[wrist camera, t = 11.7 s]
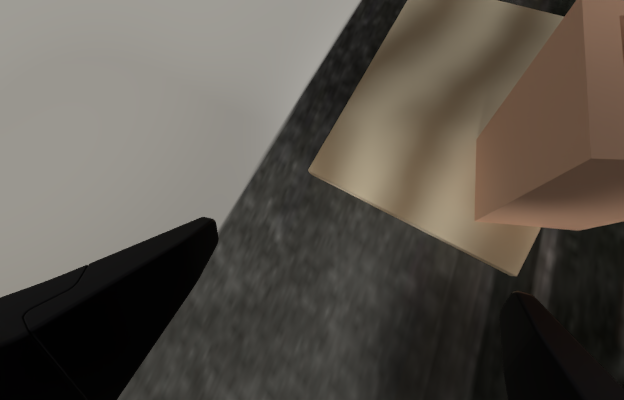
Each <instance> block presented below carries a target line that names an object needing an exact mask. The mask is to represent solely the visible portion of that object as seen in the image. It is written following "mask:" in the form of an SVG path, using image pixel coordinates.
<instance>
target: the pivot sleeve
mask: <svg viewBox="0 0 624 400" xmlns="http://www.w3.org/2000/svg"><path fill="white" fill-rule="evenodd" d="M474 221H476V222H488V223H499V224H510V225H521V226H532V227H543V228H555V229H566V230H577V231H579V230H584V229H589V228H594V227H599V226H604V225H608V224H613V223H618V222H623V221H624V0H576V1H575V3H574V4H573V6H572V7H571V8H570V10H569V11H568V13H567V14H566V15H565V17H564V18H563V19H562V21H561V22H560V24H559V25H558V26H557V28H556V29H555V31H554V32H553V33H552V35H551V36H550V38H549V39H548V40H547V42H546V43H545V45H544V46H543V47H542V49H541V50H540V52H539V53H538V54H537V56H536V57H535V58H534V60H533V61H532V63H531V64H530V65H529V67H528V68H527V70H526V71H525V72H524V74H523V75H522V77H521V78H520V79H519V81H518V82H517V84H516V85H515V86H514V88H513V89H512V91H511V92H510V93H509V95H508V96H507V97H506V99H505V100H504V102H503V103H502V104H501V106H500V107H499V109H498V110H497V111H496V113H495V114H494V116H493V117H492V118H491V120H490V121H489V123H488V124H487V125H486V127H485V128H484V130H483V131H482V132H481V134H480V135H479V136H478V138H477V139H476V177H475V219H474Z"/></svg>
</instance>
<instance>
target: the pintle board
mask: <svg viewBox="0 0 624 400" xmlns="http://www.w3.org/2000/svg"><path fill="white" fill-rule="evenodd" d="M563 18H564V16H559V15H555V14H551V13H547V12H543V11H539V10H535V9H531V8H527V7H523V6H519V5H515V4H511V3H506V2H502V1H498V0H407V2H406V4H405V5H404V7H403V9H402V10H401V12H400V14H399V16H398V17H397V19H396V21H395V22H394V24H393V26H392V28H391V29H390V31H389V33H388V34H387V36H386V38H385V40H384V41H383V43H382V45H381V46H380V48H379V50H378V51H377V53H376V55H375V57H374V58H373V60H372V62H371V63H370V65H369V67H368V69H367V70H366V72H365V74H364V75H363V77H362V79H361V81H360V82H359V84H358V86H357V87H356V89H355V91H354V93H353V94H352V96H351V98H350V99H349V101H348V103H347V104H346V106H345V108H344V110H343V111H342V113H341V115H340V116H339V118H338V120H337V122H336V123H335V125H334V127H333V128H332V130H331V132H330V134H329V135H328V137H327V139H326V140H325V142H324V144H323V145H322V147H321V149H320V151H319V152H318V154H317V156H316V157H315V159H314V161H313V163H312V164H311V166H310V168H309V169H308V171H309V172H310V174H312V175H313V176H315V177H317V178H319V179H321V180H323V181H325V182H327V183H329V184H331V185H333V186H335V187H337V188H339V189H341V190H343V191H345V192H347V193H349V194H351V195H353V196H355V197H357V198H359V199H361V200H363V201H364V202H366V203H368V204H370V205H372V206H374V207H376V208H378V209H380V210H382V211H384V212H386V213H388V214H390V215H392V216H394V217H396V218H398V219H400V220H402V221H404V222H406V223H408V224H410V225H412V226H414V227H415V228H417V229H419V230H421V231H423V232H425V233H427V234H429V235H431V236H433V237H435V238H437V239H439V240H441V241H443V242H445V243H447V244H449V245H451V246H453V247H455V248H457V249H459V250H461V251H463V252H465V253H466V254H468V255H470V256H472V257H474V258H476V259H478V260H480V261H482V262H484V263H486V264H488V265H490V266H492V267H494V268H496V269H498V270H500V271H502V272H504V273H506V274H508V275H510V276H517V275H518V273H519V271H520V269H521V267H522V265H523V263H524V261H525V259H526V257H527V255H528V253H529V251H530V249H531V247H532V245H533V243H534V241H535V239H536V237H537V235H538V233H539V231H540V229H541V227H532V226H521V225H510V224H499V223H488V222H476V221H474V219H475V177H476V139H477V138H478V136H479V135H480V134H481V132H482V131H483V130H484V128H485V127H486V125H487V124H488V123H489V121H490V120H491V118H492V117H493V116H494V114H495V113H496V111H497V110H498V109H499V107H500V106H501V104H502V103H503V102H504V100H505V99H506V97H507V96H508V95H509V93H510V92H511V91H512V89H513V88H514V86H515V85H516V84H517V82H518V81H519V79H520V78H521V77H522V75H523V74H524V72H525V71H526V70H527V68H528V67H529V65H530V64H531V63H532V61H533V60H534V58H535V57H536V56H537V54H538V53H539V52H540V50H541V49H542V47H543V46H544V45H545V43H546V42H547V40H548V39H549V38H550V36H551V35H552V33H553V32H554V31H555V29H556V28H557V26H558V25H559V24H560V22H561V21H562V19H563Z"/></svg>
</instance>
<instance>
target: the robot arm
mask: <svg viewBox="0 0 624 400" xmlns="http://www.w3.org/2000/svg"><path fill="white" fill-rule="evenodd" d="M217 244H218V232H217V226H216V222H215V220H213V219H211V218H206V217H201V218H199V219H196V220H194V221H191V222H189V223H187V224H184V225H182V226H179V227H177V228H174V229H172V230H170V231H167V232H165V233H162V234H160V235H158V236H155V237H153V238H150V239H148V240H146V241H143V242H141V243H138V244H136V245H134V246H131V247H129V248H126V249H124V250H122V251H119V252H117V253H115V254H112V255H109V256H107V257H105V258H102V259H100V260H97V261H95V262H93V263H90V264H89V265H85V266H83V267H80V268H78V269H76V270H73V271H71V272H68V273H66V274H63V275H61V276H58V277H56V278H53V279H51V280H48V281H45V282H43V283H40V284H37V285H34V286H32V287H29V288H26V289H23V290H20V291H18V292H15V293H12V294H9V295H6V296H4V297H1V298H0V400H117V399H118V397H119V396H120V394H121V393H122V391H123V390H124V388H125V387H126V386H127V384H128V383H129V381H130V380H131V378H132V377H133V375H134V374H135V372H136V371H137V369H138V368H139V366H140V365H141V364H142V362H143V361H144V359H145V358H146V356H147V355H148V353H149V352H150V350H151V349H152V347H153V346H154V345H155V343H156V342H157V340H158V339H159V337H160V336H161V334H162V333H163V331H164V330H165V328H166V327H167V325H168V324H169V323H170V321H171V320H172V318H173V317H174V315H175V314H176V312H177V311H178V309H179V308H180V306H181V305H182V304H183V302H184V301H185V299H186V298H187V296H188V295H189V293H190V292H191V290H192V289H193V287H194V286H195V284H196V283H197V281H198V279H199V278H200V276H201V274H202V272H203V270H204V268H205V266H206V265H207V263H208V261H209V259H210V257H211V255H212V253H213V252H214V250H215V248H216V246H217ZM500 329H501V345H502V360H503V371H504V378H505V384H506V390H507V395H508V400H624V389H623V388H622V387H621V386H620V385H619V383H618V382H617V381H616V380H615V379H614V378H613V377H612V376H611V375H610V374H609V373H608V372H607V371H606V370H605V369H604V368H603V367H602V366H601V365H600V364H599V363H598V362H597V361H596V360H595V359H594V358H593V357H592V356H591V355H590V354H589V353H588V352H587V350H586V349H585V348H584V347H583V346H582V345H581V344H580V343H579V342H578V341H577V340H576V339H575V338H574V337H573V336H572V335H571V334H570V333H569V332H568V331H567V330H566V329H565V328H564V327H563V326H562V325H561V324H560V323H559V322H558V321H557V320H556V319H555V317H554V316H553V315H552V314H551V313H550V312H549V311H548V310H547V309H546V308H545V307H544V306H543V305H542V304H541V303H540V302H539V301H538V300H537V299H536V298H535V297H534V296H533V295H531V294H528V293H524V292H519V291H514V292H512V293H511V295H510V296H509V298H508V299H507V301H506V303H505V304H504V306H503V307H502V309H501V312H500Z"/></svg>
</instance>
